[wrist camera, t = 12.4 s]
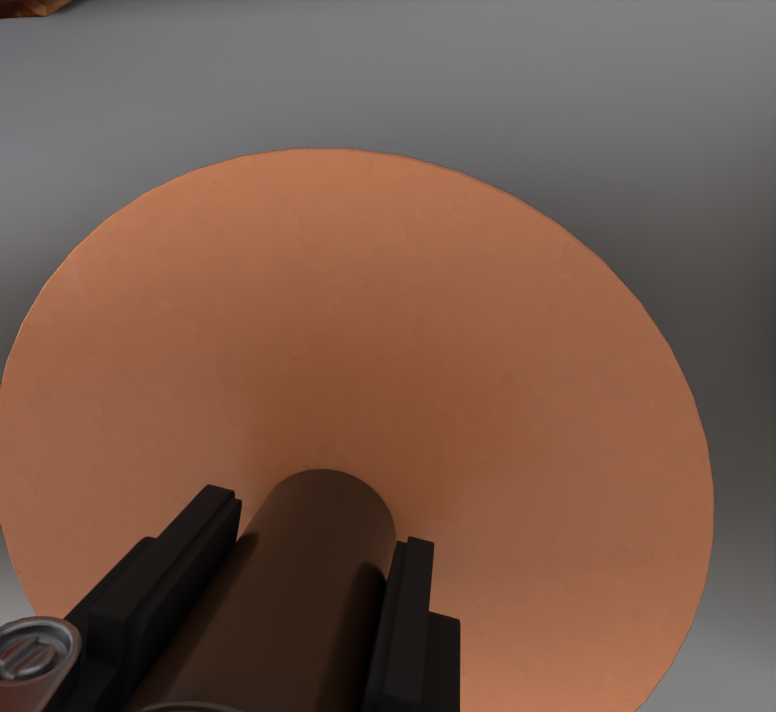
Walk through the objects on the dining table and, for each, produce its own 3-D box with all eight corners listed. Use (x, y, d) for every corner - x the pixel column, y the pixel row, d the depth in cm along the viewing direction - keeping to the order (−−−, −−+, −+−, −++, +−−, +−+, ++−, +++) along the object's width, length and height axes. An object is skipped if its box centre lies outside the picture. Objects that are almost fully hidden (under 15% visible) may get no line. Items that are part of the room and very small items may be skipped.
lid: (14, 681, 17) (-322, 1036, 10) (43, 81, 13) (-526, -95, 5) (572, 843, 16) (666, 1377, 9) (813, 247, 12) (1407, 309, 4)
